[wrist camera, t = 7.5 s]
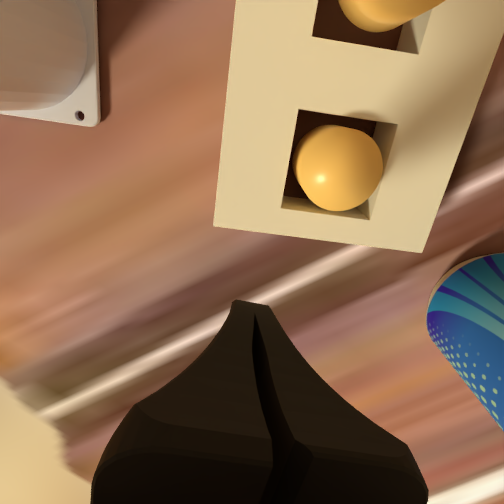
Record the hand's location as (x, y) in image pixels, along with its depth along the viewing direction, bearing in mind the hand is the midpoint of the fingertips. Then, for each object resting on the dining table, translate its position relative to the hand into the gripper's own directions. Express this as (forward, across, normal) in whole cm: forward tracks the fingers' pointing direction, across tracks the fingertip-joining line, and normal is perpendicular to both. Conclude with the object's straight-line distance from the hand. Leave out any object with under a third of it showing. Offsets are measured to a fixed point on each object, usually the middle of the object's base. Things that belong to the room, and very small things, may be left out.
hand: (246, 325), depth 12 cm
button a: (+10, -4, -5) cm, 12 cm away
